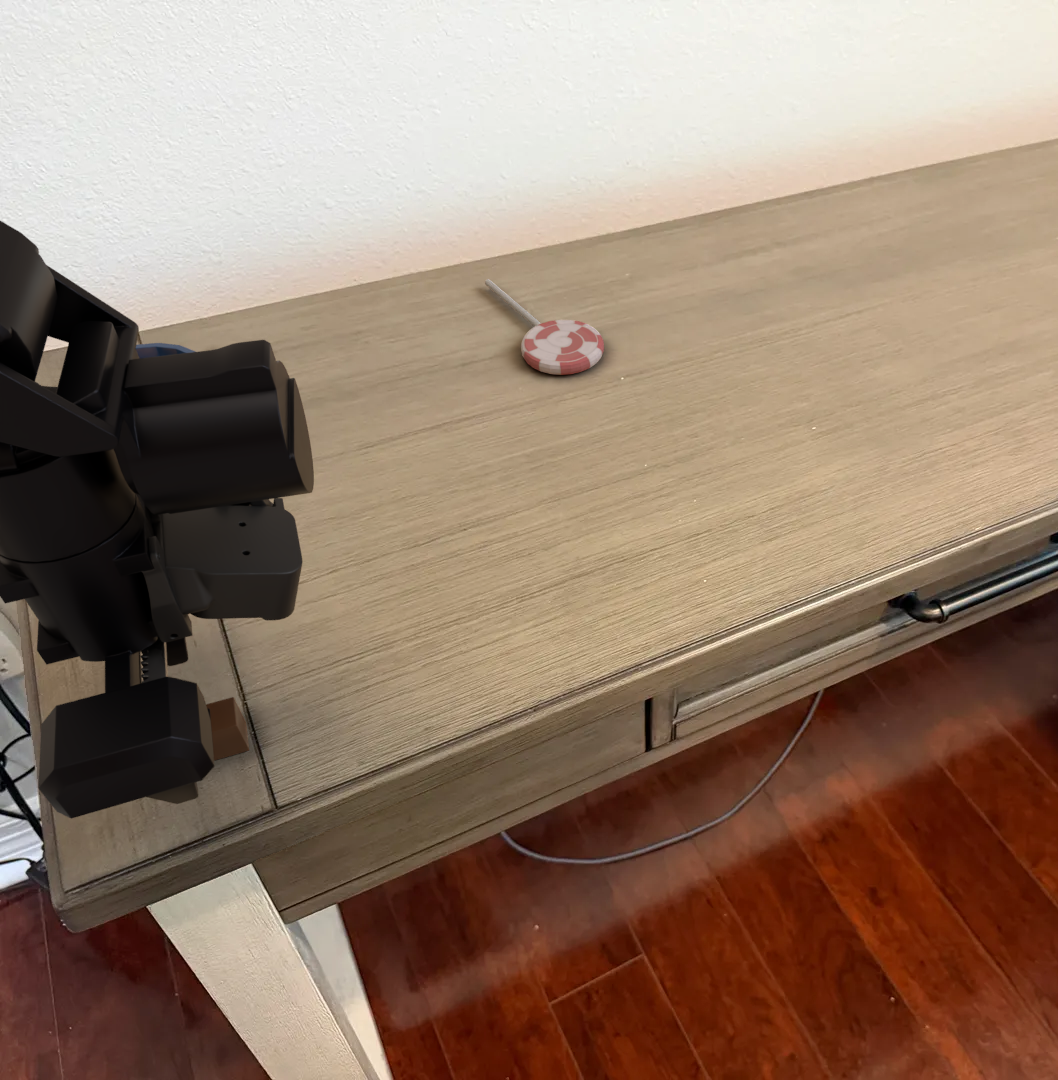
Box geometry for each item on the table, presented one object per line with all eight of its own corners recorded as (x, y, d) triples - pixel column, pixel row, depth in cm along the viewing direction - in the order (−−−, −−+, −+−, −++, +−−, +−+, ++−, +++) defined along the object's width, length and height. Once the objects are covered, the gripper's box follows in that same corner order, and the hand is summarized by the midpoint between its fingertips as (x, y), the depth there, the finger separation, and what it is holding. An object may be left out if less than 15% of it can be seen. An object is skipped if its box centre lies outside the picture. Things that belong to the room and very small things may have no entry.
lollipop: (520, 265, 90) (620, 346, 82) (521, 275, 91) (620, 357, 83) (452, 288, 87) (549, 375, 79) (454, 299, 88) (550, 386, 80)
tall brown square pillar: (249, 750, 56) (236, 725, 55) (149, 779, 55) (133, 754, 53) (246, 722, 58) (233, 696, 56) (148, 749, 56) (132, 723, 55)
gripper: (287, 621, 40) (367, 825, 51) (244, 356, 52) (317, 567, 63) (-39, 705, 37) (121, 903, 48) (-6, 401, 49) (117, 616, 60)
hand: (182, 726), depth 55 cm, fingers open, 9 cm apart
